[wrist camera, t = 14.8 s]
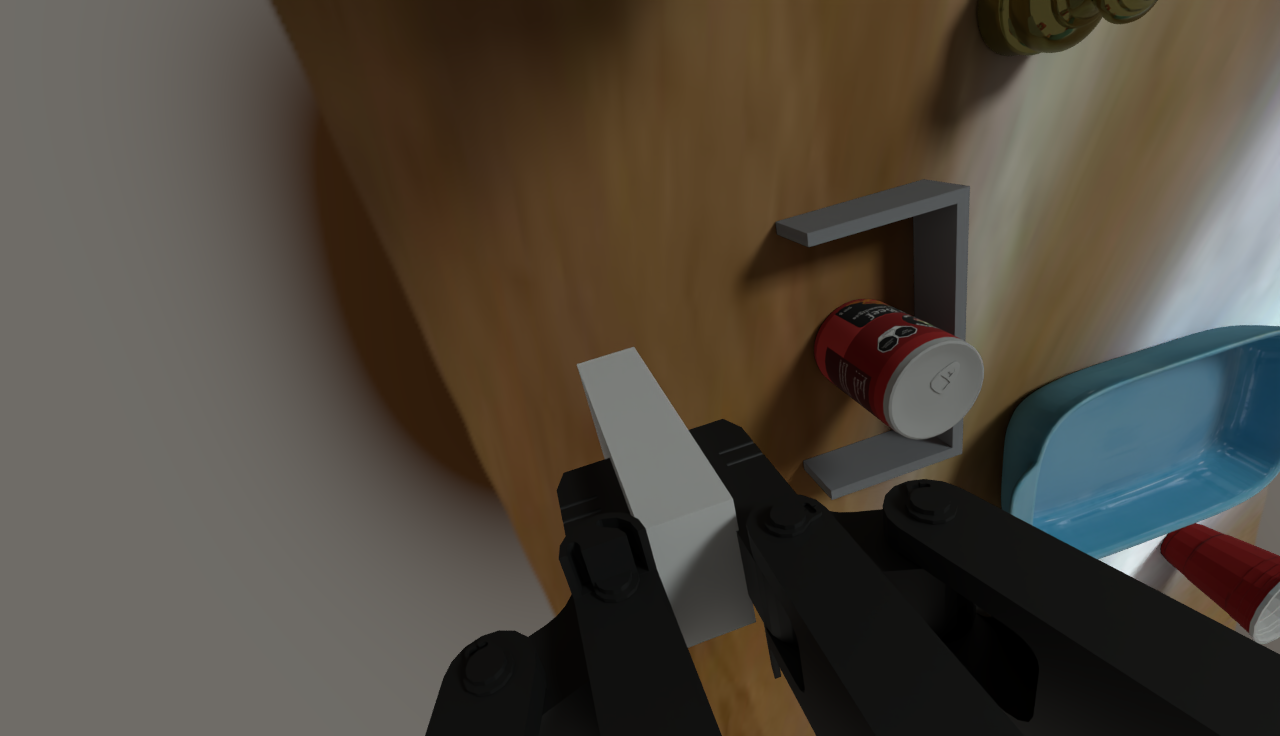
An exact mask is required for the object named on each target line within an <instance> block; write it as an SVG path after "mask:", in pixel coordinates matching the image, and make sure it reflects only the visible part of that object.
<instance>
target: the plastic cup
mask: <svg viewBox="0 0 1280 736" xmlns="http://www.w3.org/2000/svg"><path fill="white" fill-rule="evenodd" d="M1161 554H1162V555H1163V556H1164V557H1165V558H1166V560H1167V561H1168V562H1169V563H1170V564H1172V565H1173V566H1174V567H1175V568H1176V569H1178V570H1179V571H1180V572H1181V573H1182V574H1183V575H1185V577H1186V578H1187V579H1188V580H1189V581H1190V582H1192V583H1193V584H1194V585H1195V586H1196V587H1197V588H1199V589H1200V590H1201V591H1202V592H1203V593H1205V594H1206V595H1207V596H1208V597H1209V598H1210V599H1212V600H1213V601H1214V602H1215V603H1216V604H1217V605H1219V606H1220V607H1221V608H1222V609H1223V610H1225V611H1226V612H1227V613H1228V614H1229V615H1230V616H1231V617H1232V618H1233V619H1234V620H1235V621H1237V622H1238V623H1239V624H1240V626H1242V627H1243V628H1244V629H1245V630H1246V631H1247V632H1248V633H1249V635H1250V636H1251V638H1252V639H1253V640H1254V641H1255V642H1257V643H1259V644H1266V643H1268V642H1270V641H1273V640H1275V639H1278V638H1279V637H1280V556H1279V555H1276V554H1274V553H1271V552H1269V551H1266V550H1264V549H1261V548H1259V547H1256V546H1254V545H1251V544H1249V543H1246V542H1244V541H1241V540H1239V539H1237V538H1234V537H1232V536H1229V535H1225V534H1222V533H1220V532H1218V531H1215V530H1213V529H1210V528H1208V527H1206V526H1203V525H1200V524H1196V523H1194V524H1191V525H1189V526H1186V527H1183V528H1181V529H1178V530H1175V531H1173V532H1170V533H1169V534H1168V535H1167V537H1166V538H1165V539H1164V541H1163V543H1162V546H1161Z"/></svg>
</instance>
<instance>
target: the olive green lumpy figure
mask: <svg viewBox="0 0 1280 736" xmlns="http://www.w3.org/2000/svg"><path fill="white" fill-rule="evenodd" d="M1157 1H1158V0H979V4H978V24H979V29H980V32H981V35H982V37H983V39H984V41H985V43H986V44H987V45H988V47H989V48H990V49H991V50H993V51H994V52H996V53H997V54H1000V55H1003V56H1018V55H1035V54H1039V53H1056V52H1061V51H1064V50H1067V49H1069V48H1071V47H1073V46H1075V45H1076V44H1078V43H1079V42H1081V41H1082V40H1083V39H1085V38H1086V37H1087V36H1088V35H1089V34H1090V33H1091V32H1092V31H1093V30H1094V28H1095V27H1096V26H1097V25H1098V23H1099V22H1100V20H1101V19H1102V17H1103V18H1104V19H1105V20H1107V21H1108V22H1110V23H1113V24H1126V23H1130V22H1133V21H1135V20H1138V19H1139V18H1141V17H1142V16H1144V15H1145V14H1146V13H1147V12H1149V11H1150V9H1151V8H1152V7H1153V6H1154V5H1155V4H1156V2H1157Z"/></svg>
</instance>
